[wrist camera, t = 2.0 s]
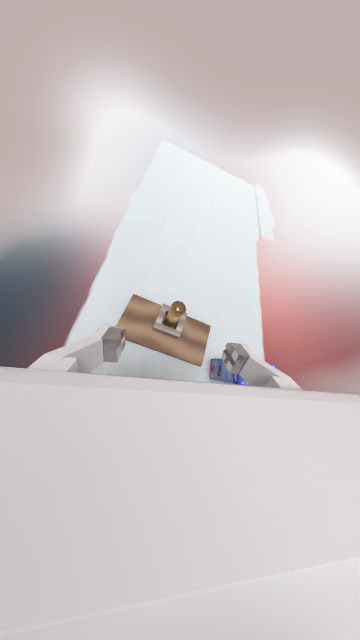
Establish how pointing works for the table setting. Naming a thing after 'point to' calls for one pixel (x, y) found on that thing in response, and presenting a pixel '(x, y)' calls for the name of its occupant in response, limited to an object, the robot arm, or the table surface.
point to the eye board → (164, 330)
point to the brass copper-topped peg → (174, 313)
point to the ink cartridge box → (226, 373)
